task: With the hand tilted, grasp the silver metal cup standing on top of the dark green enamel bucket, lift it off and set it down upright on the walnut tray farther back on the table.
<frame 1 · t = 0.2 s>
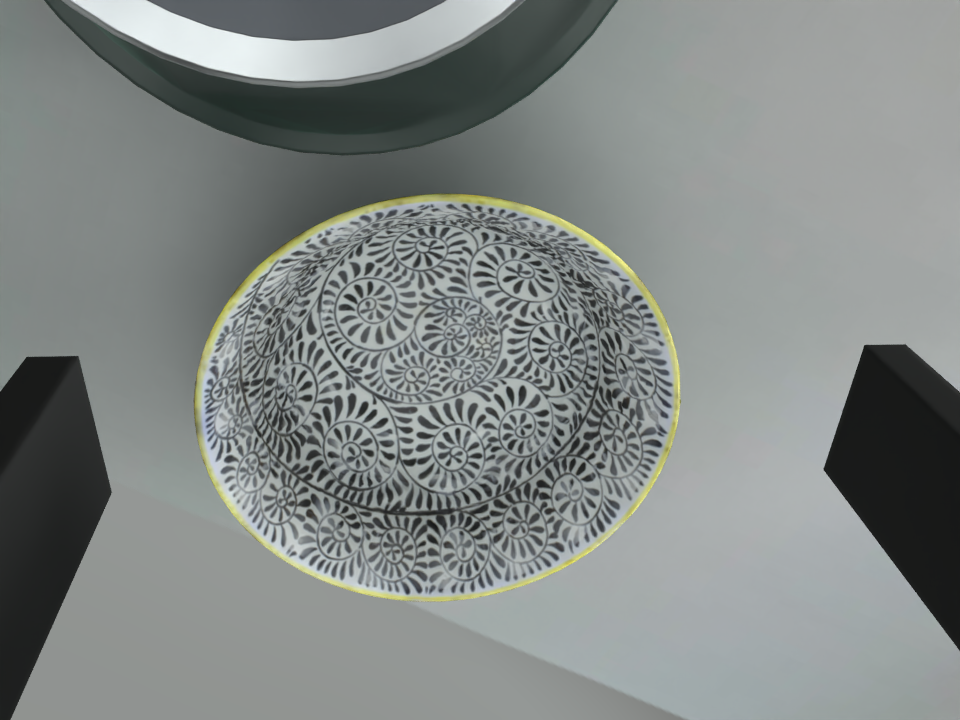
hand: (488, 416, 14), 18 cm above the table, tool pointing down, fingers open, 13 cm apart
bowl: (431, 322, 33), on the table
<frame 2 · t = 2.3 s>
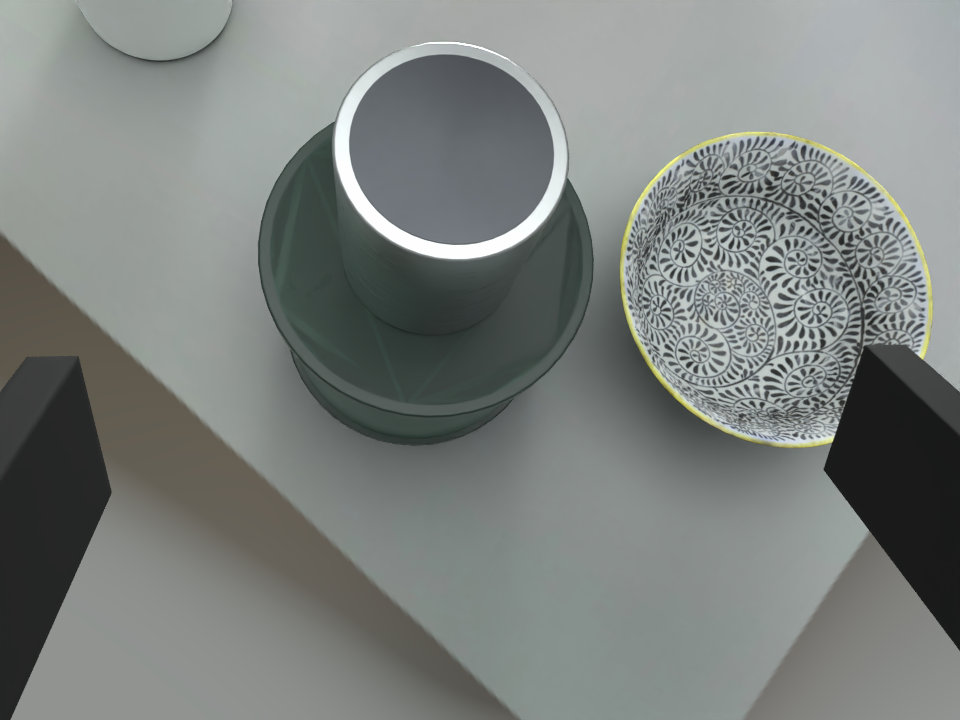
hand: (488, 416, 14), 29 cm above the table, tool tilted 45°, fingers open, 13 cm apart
silver cup: (430, 250, 33), point 11 cm above the table, touching bucket
bucket: (415, 320, 43), on the table
bowl: (714, 323, 46), on the table
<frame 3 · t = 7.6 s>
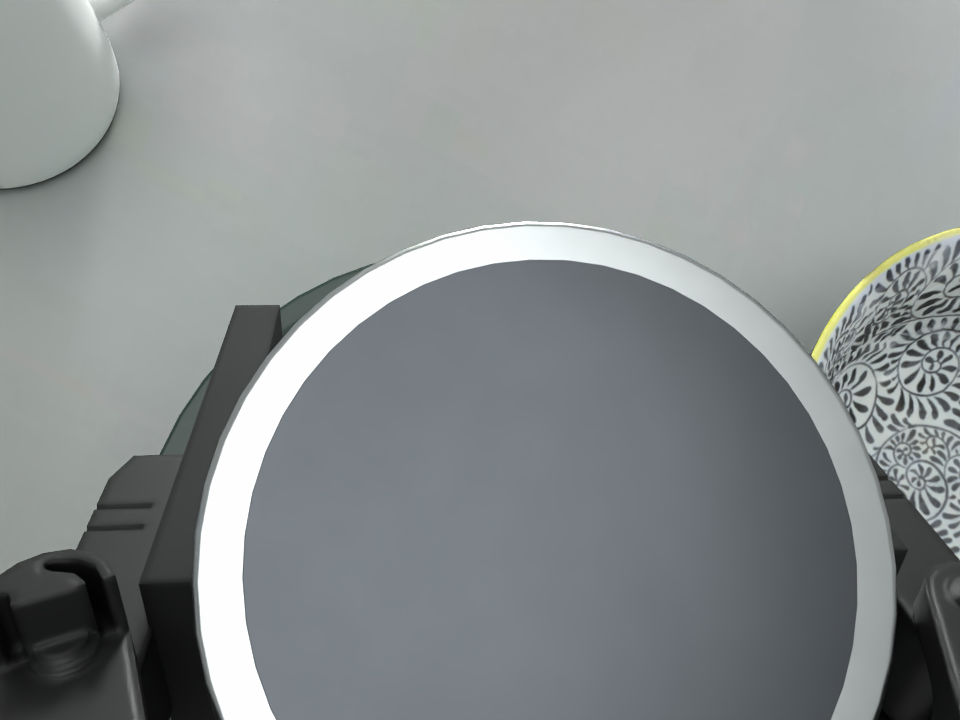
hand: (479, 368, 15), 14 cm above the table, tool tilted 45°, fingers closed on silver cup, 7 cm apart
silver cup: (473, 558, 17), point 11 cm above the table, touching bucket, gripper
cup: (58, 74, 30), on the table
bucket: (442, 561, 27), on the table
bowl: (902, 504, 30), on the table
when the fingers open (3 cm above the table, at t = 20.9 s): silver cup stays where it is, resting on tray.
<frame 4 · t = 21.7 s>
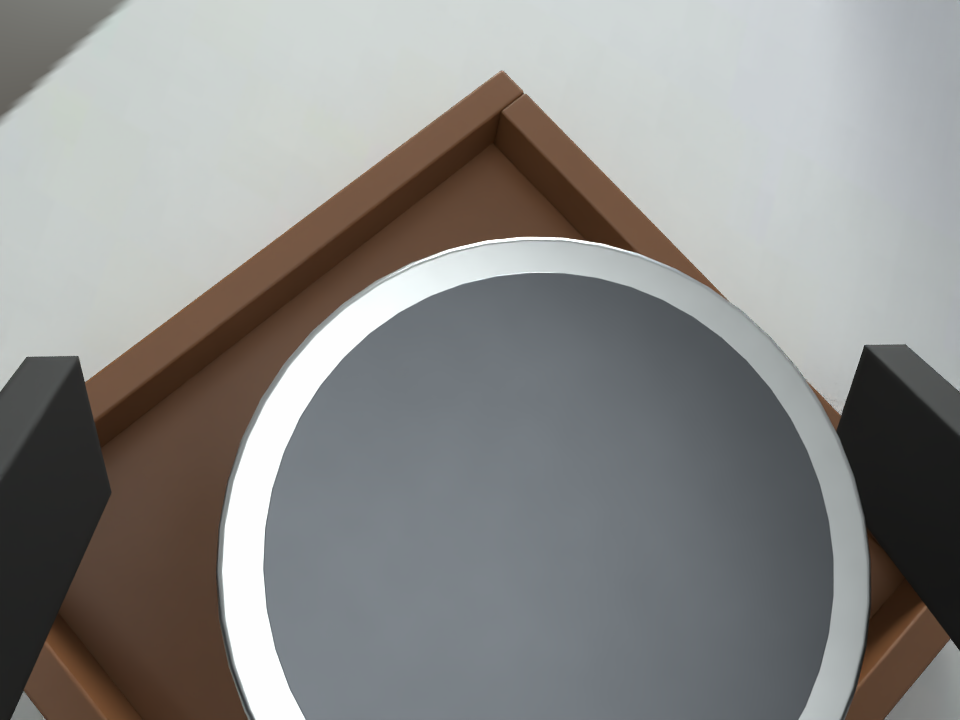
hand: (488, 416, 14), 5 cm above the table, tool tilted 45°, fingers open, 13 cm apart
silver cup: (476, 554, 17), point 1 cm above the table, touching tray
tray: (470, 554, 18), on the table
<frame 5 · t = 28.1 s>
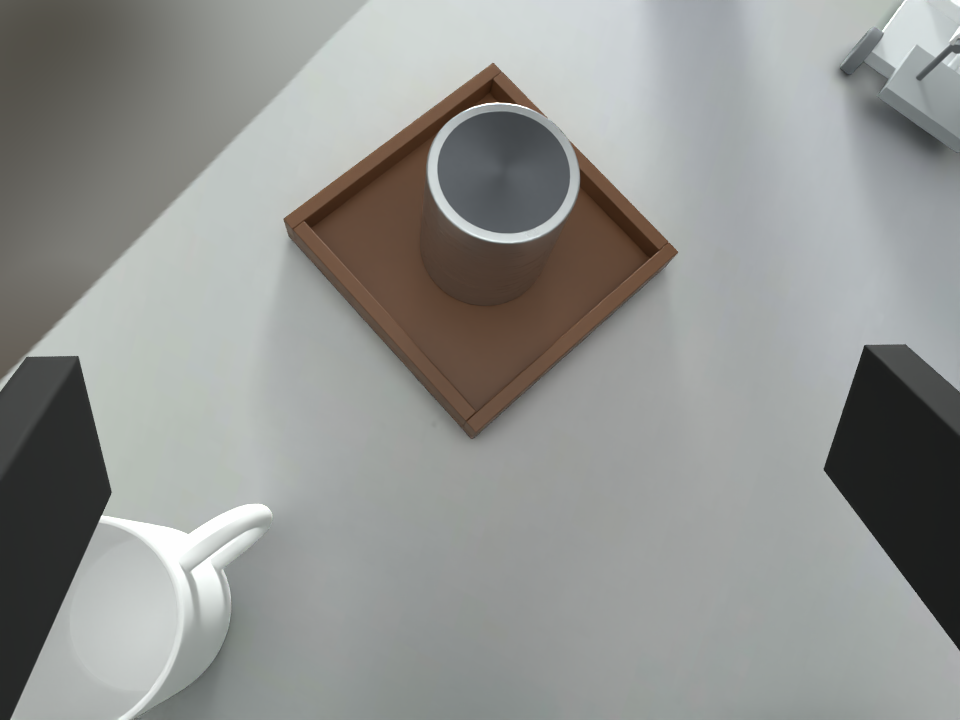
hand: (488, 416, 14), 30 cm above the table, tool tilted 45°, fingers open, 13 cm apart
silver cup: (483, 246, 46), point 1 cm above the table, touching tray
cup: (183, 588, 40), on the table
tray: (480, 251, 46), on the table
toy car: (948, 65, 53), on the table
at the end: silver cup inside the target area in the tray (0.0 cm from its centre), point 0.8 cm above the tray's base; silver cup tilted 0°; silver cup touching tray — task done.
